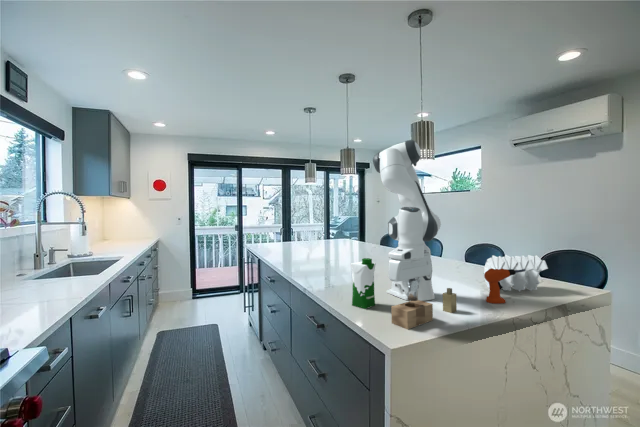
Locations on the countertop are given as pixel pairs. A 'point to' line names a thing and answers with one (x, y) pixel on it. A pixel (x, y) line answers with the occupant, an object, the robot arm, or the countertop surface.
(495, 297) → the toy drill
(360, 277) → the milk carton
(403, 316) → the socket block
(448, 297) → the square bit
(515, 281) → the spiral staircase
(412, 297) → the cylinder
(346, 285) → the countertop surface
